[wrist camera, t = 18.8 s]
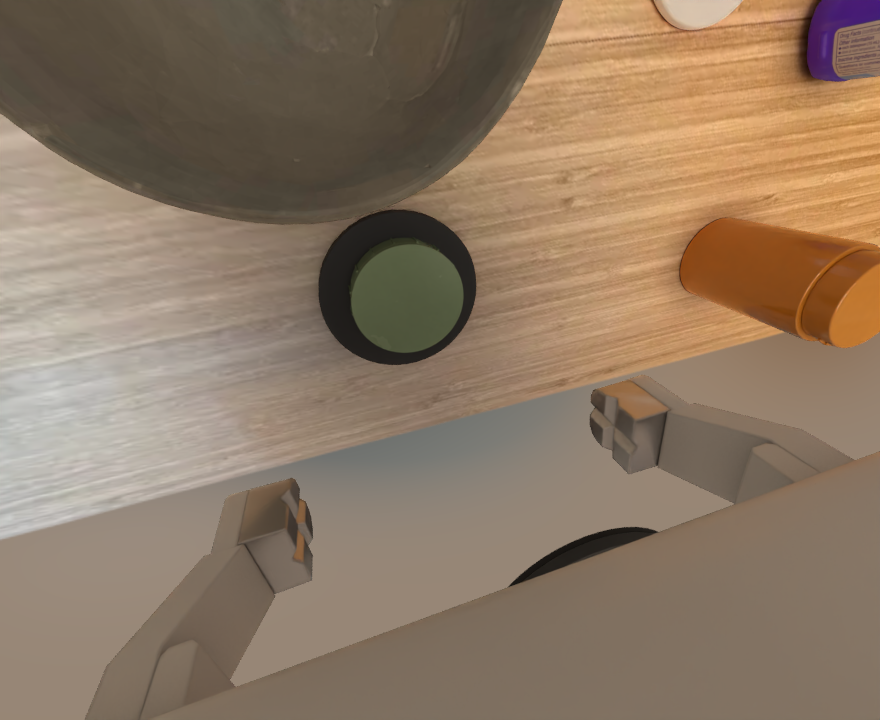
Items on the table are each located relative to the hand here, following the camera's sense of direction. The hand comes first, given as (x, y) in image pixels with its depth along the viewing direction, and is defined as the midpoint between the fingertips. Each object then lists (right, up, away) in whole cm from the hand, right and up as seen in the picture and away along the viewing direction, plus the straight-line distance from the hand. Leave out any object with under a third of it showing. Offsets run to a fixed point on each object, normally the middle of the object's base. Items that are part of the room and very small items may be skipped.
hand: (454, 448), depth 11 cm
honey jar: (+21, +10, +21) cm, 31 cm away
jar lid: (-2, +6, +13) cm, 15 cm away
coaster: (-3, +7, +15) cm, 17 cm away
